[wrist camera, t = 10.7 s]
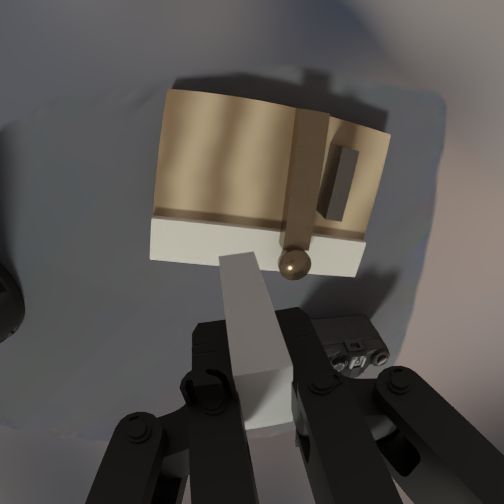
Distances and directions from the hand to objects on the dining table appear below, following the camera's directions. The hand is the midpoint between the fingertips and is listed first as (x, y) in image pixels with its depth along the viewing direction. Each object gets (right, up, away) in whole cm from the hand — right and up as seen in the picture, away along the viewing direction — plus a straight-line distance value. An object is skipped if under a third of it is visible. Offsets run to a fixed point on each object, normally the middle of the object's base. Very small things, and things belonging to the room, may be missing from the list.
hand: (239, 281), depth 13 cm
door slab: (+3, +12, +22) cm, 25 cm away
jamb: (+1, +3, +26) cm, 26 cm away
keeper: (+10, +10, +21) cm, 25 cm away
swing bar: (+6, +8, +19) cm, 22 cm away
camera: (+13, -13, +36) cm, 40 cm away
